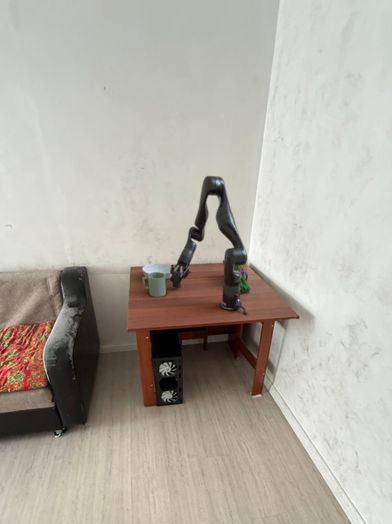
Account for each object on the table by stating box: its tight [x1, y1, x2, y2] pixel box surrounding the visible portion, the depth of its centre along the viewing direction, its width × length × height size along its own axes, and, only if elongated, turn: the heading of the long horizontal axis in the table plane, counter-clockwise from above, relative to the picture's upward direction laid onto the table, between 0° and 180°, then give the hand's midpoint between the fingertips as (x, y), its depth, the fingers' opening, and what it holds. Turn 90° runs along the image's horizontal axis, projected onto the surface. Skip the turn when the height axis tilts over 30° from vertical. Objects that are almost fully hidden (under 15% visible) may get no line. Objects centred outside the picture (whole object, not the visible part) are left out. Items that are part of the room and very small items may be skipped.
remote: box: [172, 271, 182, 290], centre depth 181 cm, size 3×4×10 cm, turn 57°
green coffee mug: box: [142, 272, 167, 298], centre depth 176 cm, size 14×10×12 cm
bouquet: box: [222, 259, 251, 293], centre depth 189 cm, size 20×16×30 cm
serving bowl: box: [142, 262, 172, 280], centre depth 196 cm, size 21×21×7 cm
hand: (174, 282), depth 180 cm, fingers closed on remote, 4 cm apart
